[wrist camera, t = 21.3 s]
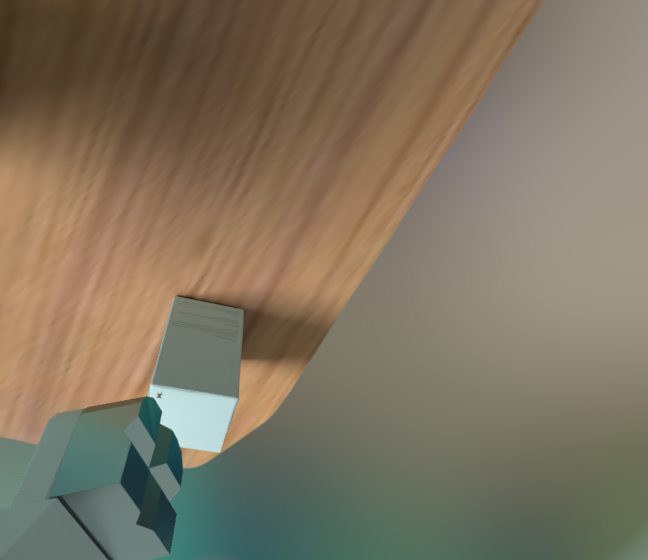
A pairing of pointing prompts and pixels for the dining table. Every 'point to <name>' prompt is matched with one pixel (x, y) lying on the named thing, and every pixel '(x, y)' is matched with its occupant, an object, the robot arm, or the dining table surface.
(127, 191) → the dining table surface
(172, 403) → the supplement box
